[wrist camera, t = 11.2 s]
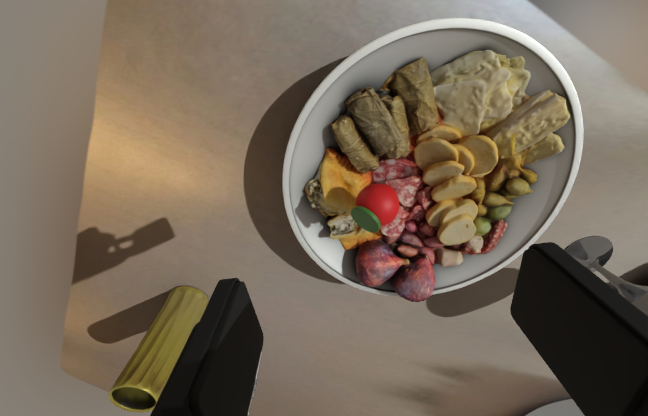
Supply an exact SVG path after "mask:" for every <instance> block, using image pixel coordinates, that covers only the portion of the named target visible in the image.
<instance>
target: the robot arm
mask: <svg viewBox="0 0 648 416" xmlns="http://www.w3.org/2000/svg"><path fill="white" fill-rule="evenodd" d="M510 310H511V315H512V317H513V319H514V320H515V322H516V323H517V324H518V326H519V327H520V328H521V330H522V331H523V333H524V334H525V335H526V337H527V338H528V339H529V341H530V342H531V343H532V345H533V346H534V347H535V349H536V350H537V351H538V353H539V354H540V356H541V357H542V358H543V360H544V361H545V362H546V364H547V365H548V366H549V368H550V369H551V370H552V372H553V373H554V375H555V376H556V377H557V379H558V380H559V381H560V383H561V384H562V385H563V387H564V388H565V389H566V391H567V392H568V393H569V395H570V396H571V398H572V399H573V400H574V401H575V403H576V404H577V406H578V407H579V408H580V409H581V411H582V412H583V414H584V415H585V416H648V316H647V315H646V314H645V313H643V312H642V311H641V310H639V309H638V308H637V307H636V306H634V305H633V304H632V303H631V302H629V301H628V300H627V299H625V298H624V297H623V296H622V295H620V294H619V293H618V292H617V291H615V290H614V289H613V288H611V287H610V286H609V285H608V284H606V283H605V282H604V281H602V280H601V279H600V278H599V277H597V276H596V275H595V274H594V273H592V272H591V271H590V270H588V269H587V268H586V267H585V266H583V265H582V264H581V263H580V262H578V261H577V260H576V259H574V258H573V257H572V256H571V255H569V254H568V253H567V252H566V251H564V250H563V249H562V248H560V247H559V246H558V245H556V244H555V243H551V242H549V243H541V244H533V245H530V246H529V248H528V250H525V251H524V254H523V258H522V262H521V266H520V270H519V274H518V279H517V283H516V287H515V291H514V295H513V299H512V304H511V309H510ZM262 346H263V332H262V329H261V327H260V324H259V321H258V318H257V316H256V313H255V310H254V307H253V305H252V302H251V299H250V296H249V294H248V291H247V288H246V286H245V283H244V282H240V281H239V279H238V278H232V279H223V280H220V281H219V282H218V284H217V286H216V288H215V290H214V292H213V294H212V296H211V298H210V301H209V303H208V305H207V307H206V309H205V311H204V313H203V315H202V317H201V320H200V322H198V323H197V324H196V325H195V326H194V328H193V329H192V331H191V333H190V335H189V338H188V340H187V342H186V344H185V346H184V348H183V350H182V352H181V354H180V356H179V358H178V360H177V362H176V364H175V366H174V368H173V370H172V372H171V374H170V376H169V379H168V381H167V383H166V385H165V387H164V389H163V391H162V393H161V395H160V397H159V399H158V401H157V403H156V405H155V407H154V409H153V411H152V413H151V415H150V416H248V412H249V407H250V403H251V398H252V393H253V389H254V384H255V379H256V374H257V370H258V365H259V360H260V356H261V351H262Z"/></svg>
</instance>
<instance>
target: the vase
mask: <svg viewBox="0 0 648 416" xmlns="http://www.w3.org/2000/svg"><path fill="white" fill-rule="evenodd" d="M208 303H209V301H208V298H207V297H206V295H205V294H204V293H203V292H201V291H200V290H198V289H196V288H193V287H189V286H181V287H177V288H175V289H173V290H172V291H171V292H170V293H169V295H168V298H167V300H166V302H165V303H164V305H163V307H162V309H161V310H160V312H159V313H158V315H157V317H156V318H155V320H154V321H153V323H152V325H151V326H150V328H149V329H148V331H147V333H146V334H145V336H144V338H143V339H142V341H141V343H140V344H139V346H138V348H137V350H136V351H135V353H134V354H133V356H132V357H131V359H130V360H129V362H128V363H127V365H126V366H125V368H124V370H123V371H122V373H121V374H120V376H119V377H118V379H117V380H116V382H115V384H114V385H113V387H112V388H111V390H110V392H109V394H108V396H109V399H110V401H111V402H112V403H113V404H114V405H116V406H117V407H119V408H121V409H124V410H127V411H132V412H148V411H151V410H153V409H154V407H155V405H156V403H157V401H158V399H159V397H160V395H161V393H162V391H163V389H164V387H165V385H166V383H167V381H168V379H169V376H170V374H171V372H172V370H173V368H174V366H175V364H176V362H177V360H178V358H179V356H180V354H181V352H182V350H183V348H184V346H185V344H186V342H187V340H188V338H189V335H190V333H191V331H192V329H193V328H194V326H195V325H196V324H197V323H198V322H200V320H201V317H202V315H203V313H204V311H205V309H206V307H207V305H208Z"/></svg>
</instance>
